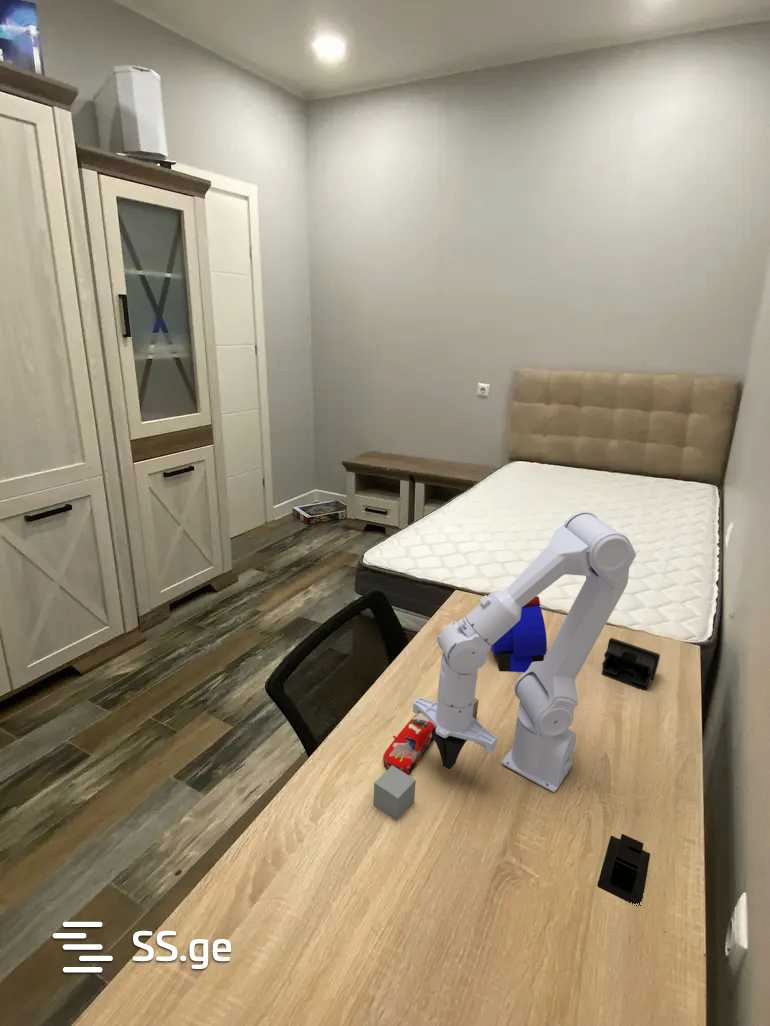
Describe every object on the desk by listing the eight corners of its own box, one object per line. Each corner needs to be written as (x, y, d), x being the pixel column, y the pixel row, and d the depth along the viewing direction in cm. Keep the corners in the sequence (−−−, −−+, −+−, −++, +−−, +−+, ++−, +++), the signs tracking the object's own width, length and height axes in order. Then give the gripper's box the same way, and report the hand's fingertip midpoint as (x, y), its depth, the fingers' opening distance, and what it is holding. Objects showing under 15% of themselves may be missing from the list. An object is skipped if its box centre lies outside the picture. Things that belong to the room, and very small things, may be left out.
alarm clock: (546, 673, 120) (557, 611, 115) (489, 671, 120) (497, 609, 115) (533, 641, 132) (542, 584, 127) (480, 639, 132) (487, 581, 126)
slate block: (414, 802, 87) (415, 779, 86) (396, 821, 84) (398, 798, 83) (391, 787, 90) (392, 765, 88) (373, 805, 87) (374, 782, 85)
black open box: (644, 924, 72) (652, 899, 70) (586, 894, 75) (591, 869, 74) (657, 850, 82) (664, 827, 80) (605, 826, 85) (610, 803, 84)
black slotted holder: (655, 676, 121) (662, 649, 119) (648, 692, 115) (654, 664, 113) (607, 659, 126) (613, 632, 124) (598, 674, 121) (604, 647, 119)
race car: (405, 783, 91) (406, 763, 90) (377, 768, 94) (377, 749, 92) (441, 734, 102) (443, 716, 100) (415, 722, 104) (416, 704, 103)
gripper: (403, 689, 89) (399, 756, 94) (484, 731, 81) (475, 803, 86) (428, 668, 95) (423, 734, 99) (507, 706, 87) (497, 775, 91)
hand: (449, 764), depth 93 cm, fingers closed
